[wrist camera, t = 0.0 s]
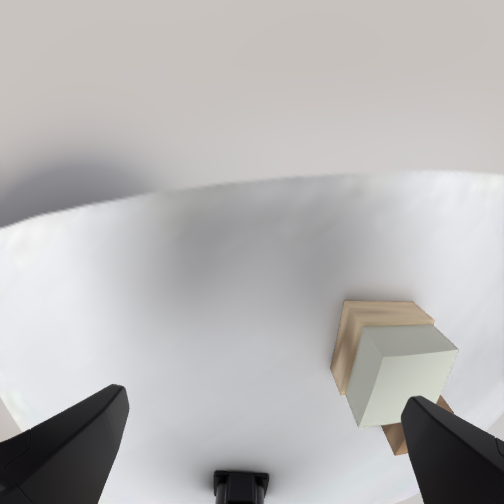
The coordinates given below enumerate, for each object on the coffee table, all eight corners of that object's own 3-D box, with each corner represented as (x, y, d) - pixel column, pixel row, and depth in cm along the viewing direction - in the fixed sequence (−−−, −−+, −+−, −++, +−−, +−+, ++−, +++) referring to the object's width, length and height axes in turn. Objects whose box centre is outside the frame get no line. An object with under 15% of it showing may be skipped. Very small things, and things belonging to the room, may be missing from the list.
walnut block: (417, 418, 27) (433, 446, 22) (380, 424, 26) (394, 455, 22) (433, 385, 25) (453, 412, 20) (394, 390, 25) (413, 421, 20)
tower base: (393, 363, 25) (410, 388, 21) (329, 366, 25) (340, 395, 21) (411, 300, 23) (434, 320, 19) (343, 299, 23) (359, 321, 19)
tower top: (410, 386, 21) (429, 416, 17) (344, 393, 21) (358, 428, 17) (431, 323, 19) (458, 349, 15) (362, 326, 19) (383, 357, 15)
